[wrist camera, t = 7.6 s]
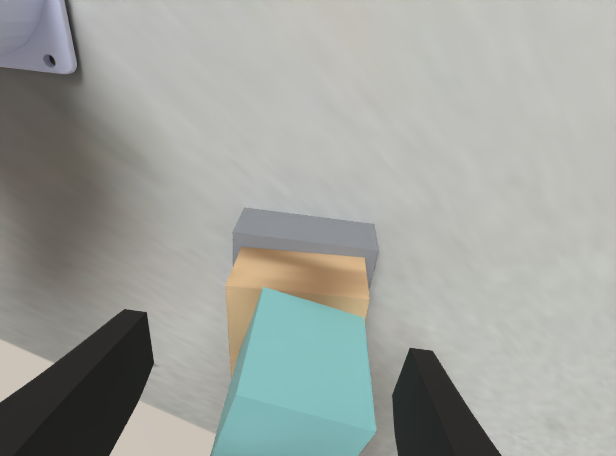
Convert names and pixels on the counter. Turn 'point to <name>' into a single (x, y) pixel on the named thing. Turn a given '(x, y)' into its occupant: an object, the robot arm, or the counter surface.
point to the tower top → (292, 285)
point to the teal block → (298, 383)
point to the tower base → (306, 235)
